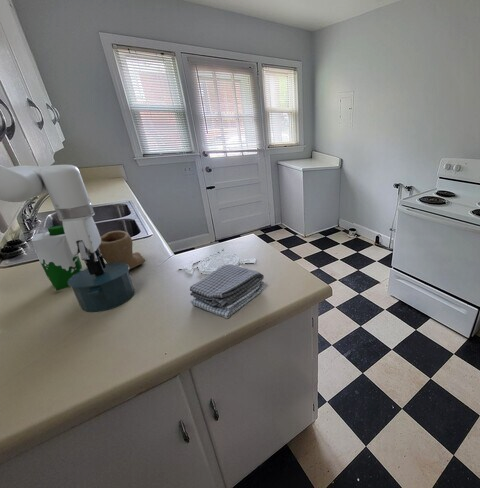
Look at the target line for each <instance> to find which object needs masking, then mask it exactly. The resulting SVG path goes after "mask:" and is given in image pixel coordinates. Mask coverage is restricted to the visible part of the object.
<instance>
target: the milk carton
mask: <svg viewBox="0 0 480 488" xmlns="http://www.w3.org/2000/svg"><path fill="white" fill-rule="evenodd" d="M31 243H32V246H33V250H34V251H35V254H36V256H37V259H38V260H39V262H40V265H41V267H42V269H43V271H44V273H45V275H46V277H47V279H48V280H49V282H50V283H51V285H52V286H53V288H54V289H55V290H56V291H59V290H63V289H66V288H70V286H69V285H68V280H69V279H70V278H71V277H72V276H73V275H75V274H76V273H78V272H80V271H82V270H84V269H83V265H82V262H81V261H82V260H81V258H80V257H79V256H80V255H79V254H78V255H77V256H74V255H72V253H71V250H70V247H69V244H68V241H67V239H66V235H65V232H64V228H63V224H59V225H53V226H49V227H48V228H47V231H44V232H40V233H36V234H35V233H34V235H33V237H32V239H31Z"/></svg>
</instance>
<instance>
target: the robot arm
mask: <svg viewBox="0 0 480 488" xmlns="http://www.w3.org/2000/svg"><path fill="white" fill-rule="evenodd" d="M46 193H47V194H48V196H49V199H50V201H51V203H52V206H53V209H54V211H55V214H56V215H57V218H58V221H59V222H62V225H63V228H64V232H65V235H66V239H67V241H68V244H69V247H70V250H71V253H72V255H74V256H77V255H78V256H79V254H80V260H81V261H84V264H85V265H86V269H87V268H88V271H89V273H90V275H94V274H99V273H103V272H104V270H103V268H106V265H105V264H106V261H105V260H104V259H103V257H102V256H101V251H100V249H99V245H100V244H101V238H100V236H101V235H100V231H99V229H98V227H97V224H96V222H95V220H94V216H95V215H96V213H95V210H94V208H93V205H92V203H91V199H90V197H89V193H88V191H87V188H86V185H85V182H84V180H83V177H82V174H81V172H80V169H79V168H78V166H76V165H74V164H52V165H51V164H50V165H46V166H44V165H24V164H23V165H15V166H11V167H7V166H5V165H2V164H0V201H4V202H8V203H23V202H26V201H28V200H31V199H33V198H34V197H37V196H39V195H42V194H46ZM97 256H99V258H100V260H98V259H97ZM100 261H101V262H100ZM101 263H102V265H101ZM102 266H103V268H102Z"/></svg>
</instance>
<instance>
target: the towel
mask: <svg viewBox="0 0 480 488" xmlns="http://www.w3.org/2000/svg"><path fill="white" fill-rule="evenodd" d="M242 267H243V266H242ZM242 267H238V266H235V265H231V264H228V265H224V266H222V267H220V268H219V269H217V270H216V271H214V272H213V273H211V274H210V275H207V276H206V277H204V278H203V279H201V280H199V281H198V282H196V283H193V284H191V286H189V291H190V293H189V294H190V297H191V296H192V297H193V299H190V304H192V306H194V307H196V308H200V309H202V310H205V311H207V312H210V313H213V314H214V315H217V316H219V317H222V318H225V319H229V318H231V316H233V315H234V314H235V313H236V312H237V311H239V310H240V309H242V308H243V307H245V306H246V305H247V304H248V303H250V302H251V301H252V300H254V299H255V298H256V297H257V296H258V295H260V293H261V292H262V291H263V290H264V287H265V282H264V281H263V280H264V279H265V277H264V274H263V273H261V272H259V271H257V270H253V269H249V268H247V267H246V268H245V267H243V268H242Z"/></svg>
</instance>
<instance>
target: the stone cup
mask: <svg viewBox="0 0 480 488" xmlns="http://www.w3.org/2000/svg"><path fill="white" fill-rule="evenodd" d="M100 238H101V244H100V245H99V249H100V251H101V256H102V257H103V259H104V262H105V264H106V263H125V264H127V265H128V266H129V271H130V270H131V269H134V268H136V267H138V266H139V265H142V264H143V263H146V261H147V259H146V258H145V257H144V256H143V255H142V254H141V253H140V252H138V251H136V252H133V251H134V250H133V246H134V245H133V243H134V242H133V239H132V237H131V236H130V233H129V232H127V231H124V230H112V231H108V232H106V233H104V234H103V235H100Z"/></svg>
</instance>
